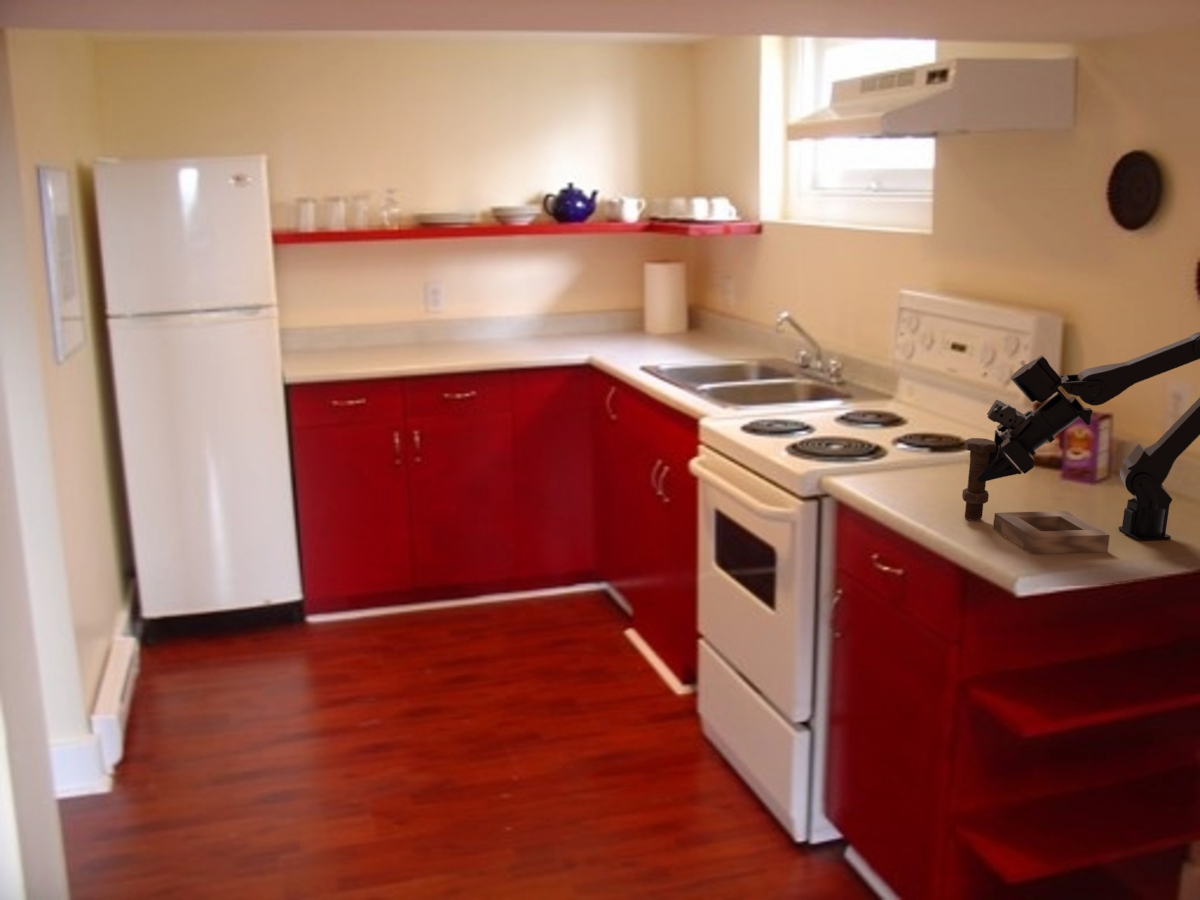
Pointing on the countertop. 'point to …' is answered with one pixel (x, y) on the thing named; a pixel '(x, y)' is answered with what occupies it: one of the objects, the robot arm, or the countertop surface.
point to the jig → (1051, 532)
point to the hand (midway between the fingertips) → (977, 473)
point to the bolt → (978, 462)
